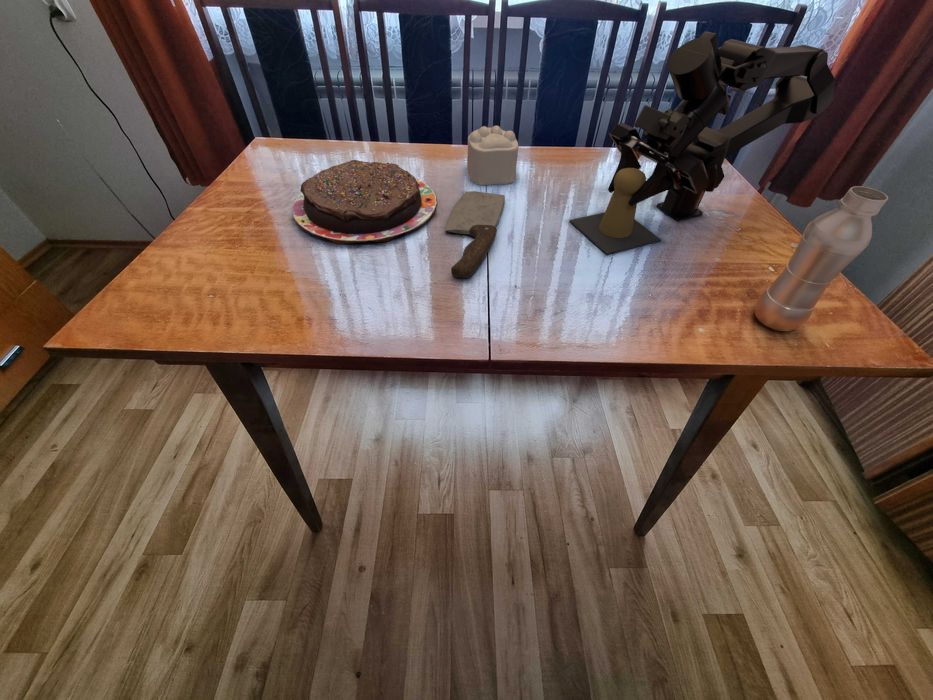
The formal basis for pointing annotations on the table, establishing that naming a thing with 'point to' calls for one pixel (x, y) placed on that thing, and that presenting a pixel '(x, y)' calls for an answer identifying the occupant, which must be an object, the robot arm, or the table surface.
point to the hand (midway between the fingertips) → (619, 197)
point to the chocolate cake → (363, 202)
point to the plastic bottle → (820, 259)
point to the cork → (622, 204)
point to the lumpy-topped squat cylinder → (492, 156)
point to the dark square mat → (610, 244)
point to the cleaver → (475, 227)
